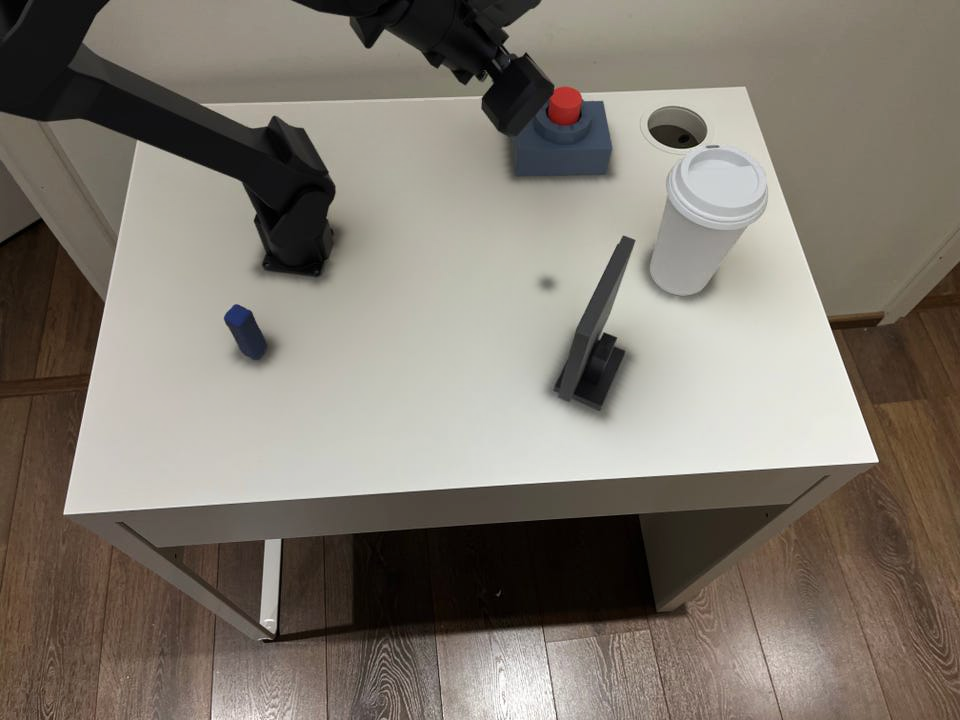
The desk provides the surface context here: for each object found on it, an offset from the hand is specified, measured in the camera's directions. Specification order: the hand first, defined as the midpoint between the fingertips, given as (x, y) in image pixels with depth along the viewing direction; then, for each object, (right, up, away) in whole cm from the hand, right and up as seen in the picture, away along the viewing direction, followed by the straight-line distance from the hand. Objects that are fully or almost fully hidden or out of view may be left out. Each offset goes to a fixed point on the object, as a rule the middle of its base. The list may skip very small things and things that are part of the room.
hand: (527, 83), depth 74 cm
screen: (+5, -29, -5) cm, 30 cm away
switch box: (+4, -4, +12) cm, 13 cm away
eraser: (-28, -28, -2) cm, 40 cm away
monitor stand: (+5, -30, -3) cm, 31 cm away
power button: (+5, -1, +7) cm, 8 cm away
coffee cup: (+17, -20, +4) cm, 26 cm away
